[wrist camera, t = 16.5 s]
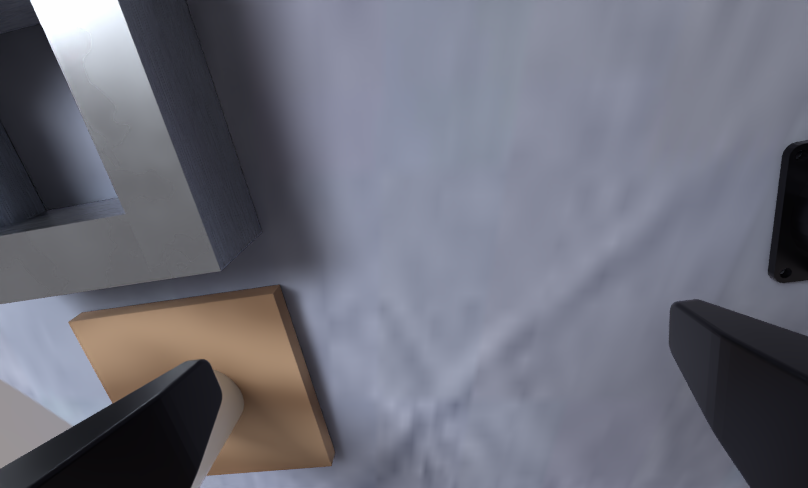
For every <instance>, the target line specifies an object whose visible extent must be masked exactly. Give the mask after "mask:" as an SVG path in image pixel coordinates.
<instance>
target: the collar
mask: <svg viewBox="0 0 808 488" xmlns="http://www.w3.org/2000/svg"><path fill="white" fill-rule="evenodd" d="M37 24H41V25H42V27H43V30H44V32H45V34H46V36H47V39H48V41H49V43H50V45H51V48H52V50H53V52H54V54H55V57H56V59H57V61H58V63H59V66H60V68H61V70H62V72H63V75H64V77H65V79H66V81H67V84H68V86H69V88H70V90H71V93H72V95H73V97H74V99H75V102H76V104H77V106H78V108H79V111H80V113H81V115H82V117H83V120H84V122H85V124H86V126H87V128H88V131H89V133H90V135H91V137H92V140H93V142H94V144H95V146H96V149H97V151H98V153H99V155H100V158H101V160H102V162H103V164H104V167H105V169H106V171H107V173H108V176H109V178H110V180H111V182H112V185H113V187H114V189H115V191H116V194H117V196H118V198H113V199H108V200H102V201H97V202H91V203H86V204H80V205H75V206H69V207H64V208H58V209H53V210H47V211H46V209H45V208H44V206H43V204H42V202H41V200H40V198H39V196H38V194H37V192H36V190H35V188H34V186H33V184H32V182H31V180H30V178H29V176H28V174H27V172H26V171H25V169H24V167H23V165H22V163H21V161H20V159H19V157H18V155H17V153H16V151H15V149H14V147H13V145H12V143H11V141H10V139H9V137H8V135H7V133H6V132H5V130H4V128H3V126H2V124H1V122H0V304H5V303H11V302H18V301H25V300H31V299H38V298H45V297H51V296H58V295H65V294H72V293H78V292H85V291H92V290H98V289H105V288H112V287H118V286H125V285H132V284H138V283H145V282H152V281H159V280H165V279H172V278H179V277H185V276H192V275H199V274H205V273H212V272H219V271H222V270H223V269H224V268H225V267H226V266H227V265H228V264H229V263H230V262H231V261H232V260H233V259H234V258H235V257H237V256H238V255H239V254H240V253H241V252H242V251H243V250H244V249H245V248H246V247H247V246H248V245H249V244H250V243H251V242H253V241H254V240H255V239H256V238H257V237H258V236H259V235H260V234H261V233H262V230H261V227H260V224H259V221H258V218H257V215H256V212H255V209H254V206H253V203H252V200H251V197H250V194H249V191H248V188H247V185H246V182H245V179H244V176H243V173H242V170H241V167H240V164H239V161H238V158H237V155H236V151H235V148H234V145H233V142H232V139H231V136H230V133H229V130H228V127H227V124H226V121H225V118H224V115H223V112H222V109H221V106H220V103H219V100H218V97H217V94H216V91H215V88H214V85H213V82H212V79H211V76H210V73H209V70H208V67H207V64H206V61H205V58H204V55H203V52H202V49H201V46H200V43H199V40H198V37H197V34H196V31H195V28H194V25H193V21H192V18H191V15H190V12H189V9H188V6H187V3H186V0H0V34H1V33H5V32H9V31H13V30H17V29H21V28H25V27H29V26H33V25H37Z"/></svg>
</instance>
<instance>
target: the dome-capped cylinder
mask: <svg viewBox="0 0 808 488" xmlns="http://www.w3.org/2000/svg"><path fill="white" fill-rule="evenodd" d="M213 371H214V373H215V375H216V378H217V380H218V382H219V385H220V387H221V390H222V403H221V406H220V409H219V412H218V415H217V418H216V421H215V424H214V427H213V430H212V433H211V435H210V438H209V441H208V444H207V447H206V450H205V453H204V456H203V459H202V462H201V465H200V467H199V470H198V473H197V475H196V478H195V480H194V482H193V485H192V487H191V488H200V486H201V484H202V482H203V481H204V479H205V477H206V475H207V474H208V472H209V470H210V468H211V467H212V465H213V463H214V461H215V460H216V458H217V456H218V454H219V453H220V451H221V449H222V447H223V446H224V444H225V442H226V441H227V439H228V437H229V435H230V434H231V432H232V430H233V428H234V427H235V425H236V423H237V421H238V420H239V418H240V416H241V414H242V412H243V409H244V400H243V396H242V393H241V391H240V389H239V388H238V386H237V385H236V384H235V383H234V382H233V381H232V380H231V379H230V378H229V377H227V376H226V375H224V374H223V373H221V372H219V371H216V370H214V369H213Z"/></svg>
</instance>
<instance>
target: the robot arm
mask: <svg viewBox="0 0 808 488" xmlns="http://www.w3.org/2000/svg"><path fill="white" fill-rule="evenodd" d="M800 150H802V154H801V156H800V157H799V158H798V159H796V154H797V153H798V152H799V151H800ZM783 269H785V271H784V272H783V273H782V274H780V272H781V271H782V270H783ZM768 275H769V276H770V277H771V278H773V279H774V280H776V281H778V282H780V283H787V282H795V281H803V280H808V140H806V141H800V142H795V143H792V144H791V145H789V146H788V147H787V148H786V149H785V150H784V152H783V155H782V162H781V170H780V178H779V186H778V194H777V202H776V210H775V218H774V226H773V235H772V243H771V251H770V259H769V267H768ZM669 346H670V350H671V353H672V355H673V357H674V359H675V361H676V363H677V365H678V367H679V369H680V371H681V372H682V374H683V376H684V378H685V380H686V382H687V384H688V386H689V388H690V390H691V391H692V393H693V395H694V397H695V399H696V401H697V403H698V405H699V407H700V409H701V411H702V412H703V414H704V416H705V418H706V420H707V422H708V423H709V425H710V427H711V429H712V431H713V432H714V434H715V435H716V437H717V438H718V440H719V442H720V443H721V445H722V446H723V448H724V449H725V451H726V452H727V454H728V455H729V457H730V458H731V460H732V461H733V463H734V464H735V465H736V467H737V468H738V470H739V471H740V473H741V474H742V476H743V477H744V479H745V480H746V482H747V483H748V485H749V486H750V488H808V336H805V335H802V334H799V333H796V332H793V331H790V330H787V329H784V328H781V327H778V326H775V325H772V324H770V323H767V322H764V321H761V320H758V319H755V318H752V317H749V316H746V315H743V314H740V313H737V312H734V311H731V310H728V309H725V308H722V307H720V306H717V305H714V304H711V303H708V302H705V301H702V300H698V299H693V300H685V301H677V302H674V303H673V304H672V305H671V308H670V321H669ZM221 403H222V390H221V387H220V385H219V382H218V380H217V378H216V375H215V373H214V371H213V369H212V366H211V364H210V363H209V362H208V361H207V360H205V359H198V360H189V361H185V362H183V363H182V364H180V365H178V366H176V367H175V368H173V369H171V370H170V371H168V372H166V373H164V374H163V375H161V376H159V377H158V378H156V379H154V380H152V381H151V382H149V383H147V384H145V385H144V386H142V387H140V388H139V389H137V390H135V391H133V392H132V393H130V394H128V395H127V396H125V397H123V398H121V399H120V400H118V401H116V402H114V403H113V404H111V405H109V406H108V407H106V408H104V409H102V410H101V411H99V412H97V413H96V414H94V415H92V416H90V417H89V418H87V419H85V420H83V421H82V422H80V423H78V424H77V425H75V426H73V427H71V428H70V429H68V430H66V431H65V432H63V433H61V434H59V435H58V436H56V437H54V438H52V439H51V440H49V441H47V442H46V443H44V444H42V445H40V446H39V447H37V448H35V449H34V450H32V451H30V452H28V453H27V454H25V455H23V456H21V457H20V458H18V459H16V460H15V461H13V462H11V463H9V464H8V465H6V466H4V467H3V468H1V469H0V488H191V487H192V485H193V482H194V480H195V478H196V475H197V473H198V470H199V467H200V465H201V462H202V459H203V456H204V453H205V450H206V447H207V444H208V441H209V438H210V435H211V433H212V430H213V427H214V424H215V421H216V418H217V415H218V412H219V409H220V406H221Z"/></svg>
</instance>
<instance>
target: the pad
mask: <svg viewBox="0 0 808 488" xmlns="http://www.w3.org/2000/svg"><path fill="white" fill-rule="evenodd" d="M68 323H69V325H70V327H71V328H72V330H73V332H74V334H75V336H76V338H77V339H78V341H79V343H80V345H81V347H82V349H83V350H84V352H85V354H86V356H87V358H88V359H89V361H90V363H91V365H92V367H93V369H94V370H95V372H96V374H97V376H98V378H99V380H100V381H101V383H102V385H103V387H104V389H105V391H106V392H107V394H108V396H109V398H110V400H111V401H112V403H114V402H116V401H118V400H120V399H121V398H123V397H125V396H127V395H128V394H130V393H132V392H133V391H135V390H137V389H139V388H140V387H142V386H144V385H145V384H147V383H149V382H151V381H152V380H154V379H156V378H158V377H159V376H161V375H163V374H164V373H166V372H168V371H170V370H171V369H173V368H175V367H176V366H178V365H180V364H182V363H183V362H185V361H189V360H198V359H205V360H207V361H208V362H209V363H210V364H211V366H212V369H214V370H216V371H219V372H221V373H223V374H224V375H226V376H227V377H229V378H230V379H231V380H232V381H233V382H234V383H235V384H236V385H237V386H238V388H239V389H240V391H241V393H242V396H243V400H244V409H243V412H242V414H241V416H240V418H239V420H238V421H237V423H236V425H235V427H234V428H233V430H232V432H231V434H230V435H229V437H228V439H227V441H226V442H225V444H224V446H223V447H222V449H221V451H220V453H219V454H218V456H217V458H216V460H215V461H214V463H213V465H212V467H211V468H210V470H209V472H208V474H207V475H206V476H209V475H222V474H235V473H248V472H261V471H274V470H287V469H300V468H313V467H326V466H332V462H333V458H334V455H335V451H334V448H333V445H332V442H331V439H330V436H329V433H328V430H327V427H326V424H325V421H324V418H323V414H322V411H321V408H320V405H319V402H318V399H317V396H316V393H315V390H314V387H313V384H312V381H311V378H310V375H309V372H308V369H307V366H306V363H305V360H304V357H303V354H302V351H301V348H300V345H299V342H298V339H297V336H296V333H295V330H294V327H293V324H292V321H291V318H290V315H289V312H288V309H287V306H286V303H285V300H284V297H283V294H282V291H281V288H280V285H273V286H266V287H259V288H252V289H245V290H238V291H231V292H224V293H217V294H210V295H203V296H196V297H189V298H182V299H175V300H167V301H160V302H153V303H146V304H139V305H132V306H125V307H118V308H111V309H104V310H97V311H90V312H83V313H81V314H79V315H78V316H76V317H75V318H73V319H72V320H71V321H69V322H68Z"/></svg>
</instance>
